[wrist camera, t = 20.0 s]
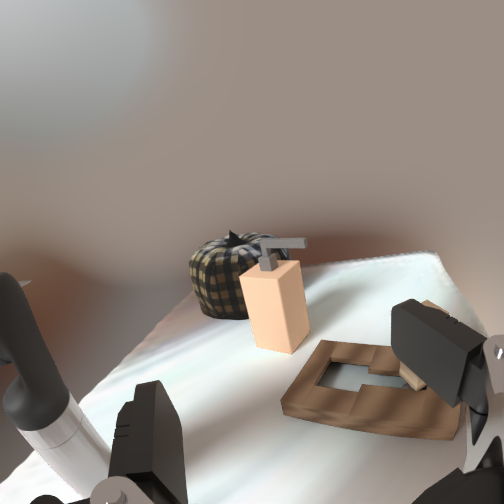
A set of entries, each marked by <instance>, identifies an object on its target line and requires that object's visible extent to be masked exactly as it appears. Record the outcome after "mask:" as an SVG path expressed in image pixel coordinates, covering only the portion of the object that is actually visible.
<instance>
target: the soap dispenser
mask: <svg viewBox="0 0 504 504" xmlns="http://www.w3.org/2000/svg"><path fill="white" fill-rule="evenodd" d="M260 246H261V250H262V256H261V257H259V258H258V261H259V263H258V264H257V265H255V266H254V267H252V268H251V269H249V270H248V271H247V272H245V273H244V274H242V275H241V276H239V278H240V283H241V287H242V291H243V295H244V299H245V303H246V307H247V311H248V315H249V319H250V323H251V327H252V331H253V335H254V339H255V343H256V346H257V347H259V348H264V349H268V350H273V351H278V352H283V353H288V354H292V353H293V352H294V351H295V350H296V349H297V347H298V346H299V345H300V344H301V342H302V341H303V340H304V338H305V337H306V336H307V335H308V333H309V332H310V326H309V319H308V312H307V305H306V299H305V293H304V286H303V280H302V274H301V268H300V262H299V261H289V260H277V257H276V254H271V253H270V248H306V247H307V246H308V244H307V239H306V238H269V239H261V240H260Z"/></svg>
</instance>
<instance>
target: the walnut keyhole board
mask: <svg viewBox="0 0 504 504" xmlns="http://www.w3.org/2000/svg"><path fill="white" fill-rule="evenodd" d="M330 361H333V362H341V363H349V364H357V365H366V366H369V369H368V373H371V374H380V375H391V376H400V375H399V372H400V360H399V359H398V358H397V357H396V356H395V354H394V352H393V350H392V347H391V346H380V345H368V344H357V343H346V342H337V341H328V340H321V341H320V342H319V344H318V346H317V347H316V349H315V350H314V352H313V353H312V355H311V356H310V358H309V359H308V361H307V362H306V364H305V365H304V367H303V368H302V370H301V371H300V373H299V374H298V376H297V377H296V379H295V380H294V381H293V383H292V384H291V386H290V387H289V389H288V390H287V391H286V393H285V394H284V396H283V397H282V398H281V400H280V401H281V405H282V409H283V413H284V415H287V416H291V417H295V418H299V419H303V420H307V421H312V422H316V423H321V424H326V425H330V426H335V427H341V428H346V429H351V430H357V431H363V432H370V433H376V434H384V435H392V436H400V437H410V438H421V439H435V440H453V438H454V435H455V433H456V430H457V428H458V425H459V416H460V405H461V403H460V404H458V405H457V406H455V407H454V408H452V407H451V406H450V405H448V404H447V403H446V402H445V401H444V400H443V399H442V398H441V397H440V396H439V395H438V394H436V393H435V392H434V391H433V390H432V389H431V388H430V387H429V386H428V385H427V388H426V390H417V391H415V390H414V389H403V388H393V387H383V386H374V385H365V384H362V386H361V388H360V390H359V392H352V391H346V390H339V389H333V388H327V387H321V386H317V384H318V382H319V381H320V379H321V377H322V375H323V374H324V372H325V370H326V368H327V367H328V365H329V363H330Z"/></svg>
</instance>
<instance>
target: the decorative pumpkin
mask: <svg viewBox="0 0 504 504" xmlns="http://www.w3.org/2000/svg"><path fill="white" fill-rule="evenodd" d="M269 238H278V237H276V236H274V235H270V234H260V233H257V232H252V233H247V234H243V235H242V234H238V235H236V234H234V233H232V232H231V231H230V233H229V235H228V236H226V237H224V238H222V239H220V240H214V241H210V242H207V243H205V244H204V245H202V246H201V247H200V248H199V249H198V250H197V251H196V252H195V253H193V255H192V257H191V258H190V261H189V268H190V274H191V279H192V283H193V288H194V291H195V293H196V295H197V298H198V301H199V303H200V306H201V310H202V312H203V313H204V314H205V315H207V316H210V317H212V318H216V319H231V320H245V319H249V315H248V311H247V307H246V303H245V299H244V295H243V291H242V287H241V283H240V278H239V276H241V275H242V274H244V273H245V272H247V271H248V270H249V269H251V268H252V267H254V266H255V265H257V264H258V263H259V261H258V258H259V257H261V256H262V250H261V246H260V240H261V239H269ZM270 253H271V254H276V257H277V260H289V261H291V258H290V254H289V250H288V248H270Z"/></svg>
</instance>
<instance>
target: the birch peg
mask: <svg viewBox="0 0 504 504" xmlns="http://www.w3.org/2000/svg"><path fill="white" fill-rule="evenodd" d="M421 304H423V305H425V306H429V307H432V308H436V309H440V310H442V311H443V312H445V313H447V314H448V315H449V312H447V311H446V310H444V309H442V308H440V307H439V306H437V305H435V304H434V303H432V302H430V301H428V300H426V301H424V302H422V303H421ZM399 375H400V376H401V377H402V378H403V379H404V380H405V381H406V382H407V383H406V384H405V385H404V386H403V387H402V388H403V389H414V390H415V391H417V390H426V388H427V384H426V383H424V382H423V381H422V380H421V379H420V378H419V377H418V376H417V375H416V374H415V373H413V372H412V371H411V370H410V369H409V368H408V367H407V366H406V365H405V364H403V363H402V362H401V361H400V372H399Z"/></svg>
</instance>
